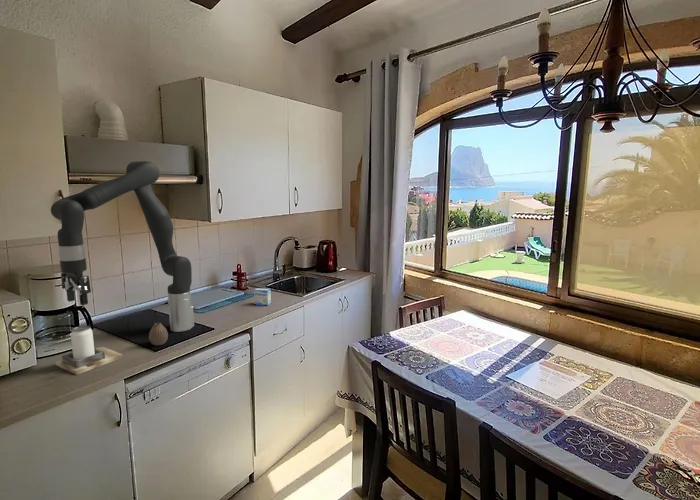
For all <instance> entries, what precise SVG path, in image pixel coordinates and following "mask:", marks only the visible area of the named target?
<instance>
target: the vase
mask: <svg viewBox="0 0 700 500" xmlns="http://www.w3.org/2000/svg"><path fill="white" fill-rule="evenodd" d="M168 336H169V334H168V330H167V328H166V327H165V326H164V325H163V324H162V322H155V323H154V324H153V326H152V328H151V329H150V330H149V333H148V339H149V342H150V343H151V344H152V345H154V347H155V346H156V347H157V346H159V347H160V346H162V345H164V344H165V343H166V342H167V341H168V338H169V337H168Z"/></svg>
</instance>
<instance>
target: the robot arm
mask: <svg viewBox="0 0 700 500" xmlns="http://www.w3.org/2000/svg"><path fill="white" fill-rule="evenodd" d="M125 172H126V173H125V174H123V175H121V176H118V177H115V178H112V179H108V180H106V181H103V182H100V183H97V184H95V185H92V186H90V187H89V188H85V189H84V190H82V191H80V192H77V193H74V194H71V195H68V196H64V197H63V198H60V199H59V200H56V201H54V202H53V203H52V205H51V207H50V213H51V215H52V216H53V217H54V218H55V219H56V220H60V221H61V228H60V229H58V231H57V242H58V243H57V244H58V258H59V267H60V277H61V278H60V279H61V288H62V289H63V290H64V291H65V292H66V298H67V299H66V300H67V302H74V301H75V300H76V295H75V291H77V292H78V296H79V305H80V306H85V305H88V304H89V301H88V300H89V299H88V294H90V293H91V292H92V289H91V283H90V276H89V275H84V271H85V272H86V271H87V269H88V267H87V256H86V250H85V246H84V239H83V238H84V237H83V229H84V223H85V222H84V221H85V211H90V210H94V209H97V208H99V207H101V206H103V205H105V204H107V203H109V202H110V201H112V200H114V199H116V198H119V197H120V196H122V195H124V194H127V193H129V192H131V191H133V192H134V194H135V195H136V198H137V200H138V203H139V205H140V208H141V210H142V213H143V215H144V218H145V219H144V220H145V221H146V222H145V223H146V224H147V227H148V229H149V231H150V234H151V237H152V239H153V242H154V244H155V248H156V250H157V252H158V253H157V254H158V258H159V262H160V266H161V268H162V271H163V273H164V274H166V275H167V276H170V277H172V283H171V284H169V285H168V286H167V301H168V314H169V328H170V329H169V330H170V331H171V332H175V333H177V332H178V333H180V332H185V331H189V330H191V329H193V327H195V318H194V306H193V305H192V297H191V285H192V280H193V278H192V275H193V271H192V262H191V260H190V259H189V258H187V257H185V256H180V255H178V254H177V253H176V251H175V247H174V244H173V236H174V224H173V221H172V218H171V215H170V213H169V211H168V209H167V208H166V206H165V205H164V204H163V203H162V202H161V200H160V199H159V198H158V196H157V195H156V194H155V192H154V190H153V187H152V185H153V184H155V183H156V182H157V181H158V180H159V178H160V169H159V167H158V166H157V165H156V164H155V163H154V162H152V161H147V160H141V161H139V160H137V161H131V162H129V163H128V165H127V166H126V170H125Z"/></svg>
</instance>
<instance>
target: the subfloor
mask: <svg viewBox="0 0 700 500" xmlns="http://www.w3.org/2000/svg"><path fill="white" fill-rule="evenodd" d="M94 351H95V355H92V356H89V357H86V358H83V359H80V360H75V359H74V358H73V351H71V352H68V353H67V354H63V355H61V360H58V361H56V362H55V366H56V367H58V368H61V369H64V370H66V371H68V372H70V373H72V374H73V375H76V376H77V375H80V374H82V373H85V372H89V371H91V370H93V369H94V370H95V369H96V368H99V367H102V366H104V365H106V364H107V365H108V364H109V363H111V362H115V361H117V360H120V359H123V358H124V356H123V353H119V352H117V351H115V350H112V349H109V348H107V347H105V346H99V347H96V348H95V347H94Z"/></svg>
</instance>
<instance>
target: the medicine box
mask: <svg viewBox="0 0 700 500" xmlns="http://www.w3.org/2000/svg"><path fill="white" fill-rule="evenodd" d="M253 293H254V294H253V295H254V298H253V299H254V301H253V303H254V304H256V305H255V306H260V305H269V304H270V303H272V299H271V298H272V297H271V296H272V295H271V293H272V292H271V288H262V287H256V288H254V291H253ZM254 304H253V305H254ZM270 305H271V304H270ZM270 305H269V306H270Z"/></svg>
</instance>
